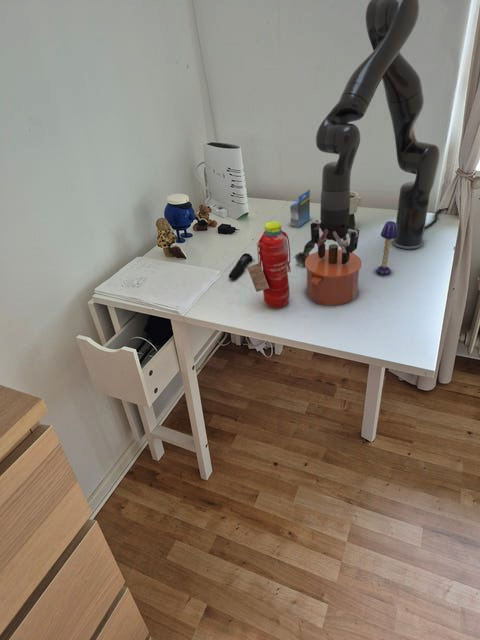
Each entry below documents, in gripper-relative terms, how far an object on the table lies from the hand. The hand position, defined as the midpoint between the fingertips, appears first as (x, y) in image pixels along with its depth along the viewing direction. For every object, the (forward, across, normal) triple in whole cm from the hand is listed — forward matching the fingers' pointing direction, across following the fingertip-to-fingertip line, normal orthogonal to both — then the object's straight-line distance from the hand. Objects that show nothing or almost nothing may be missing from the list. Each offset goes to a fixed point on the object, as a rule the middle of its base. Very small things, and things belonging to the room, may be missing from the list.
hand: (333, 260), depth 125 cm
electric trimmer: (+11, +32, +4) cm, 34 cm away
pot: (+11, 0, 0) cm, 11 cm away
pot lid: (+1, 0, 0) cm, 1 cm away
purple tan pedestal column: (+11, -8, -18) cm, 22 cm away
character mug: (+11, +18, -41) cm, 46 cm away
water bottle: (+11, +11, +15) cm, 22 cm away
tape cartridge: (+11, +36, -37) cm, 53 cm away
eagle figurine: (+11, +17, -12) cm, 24 cm away
